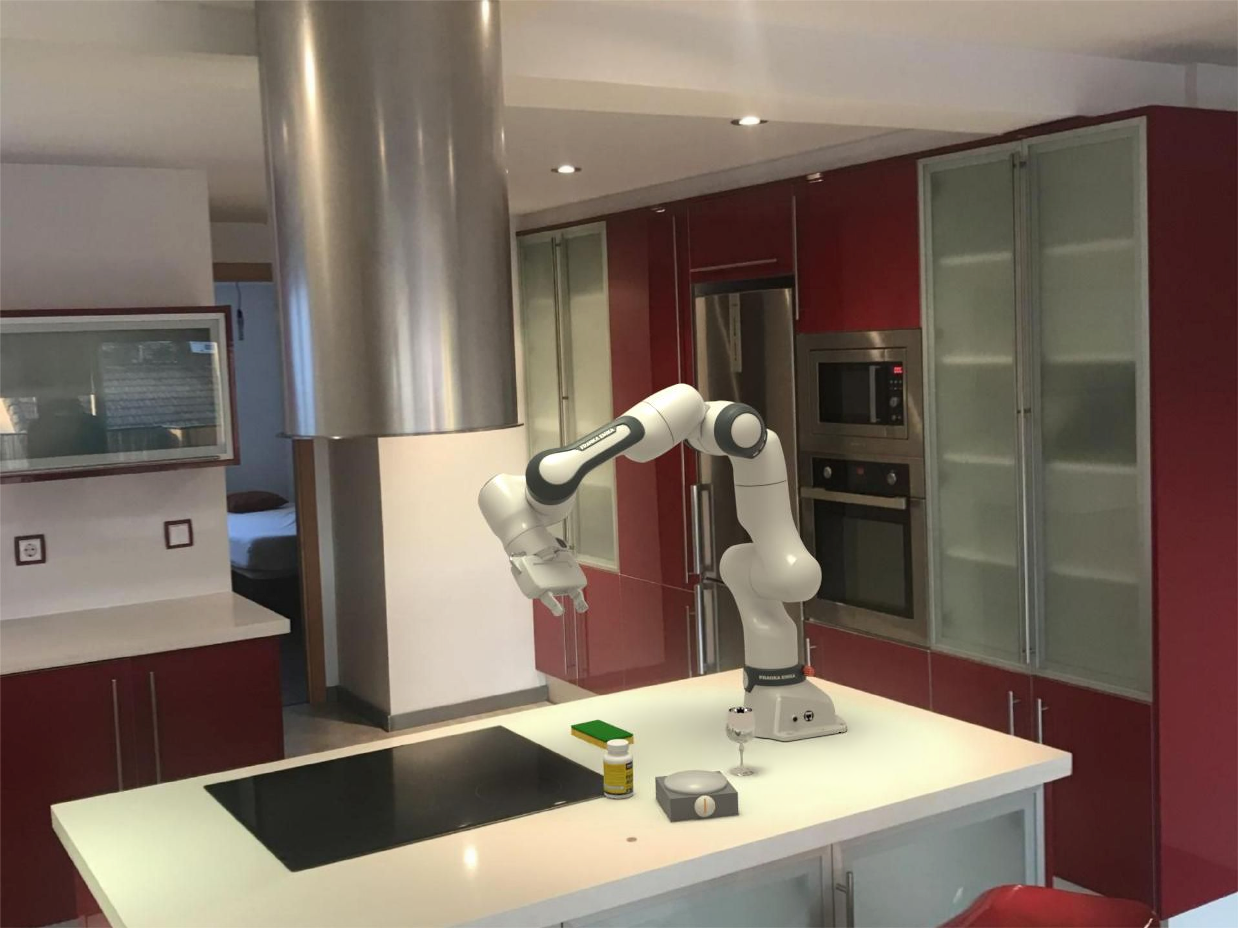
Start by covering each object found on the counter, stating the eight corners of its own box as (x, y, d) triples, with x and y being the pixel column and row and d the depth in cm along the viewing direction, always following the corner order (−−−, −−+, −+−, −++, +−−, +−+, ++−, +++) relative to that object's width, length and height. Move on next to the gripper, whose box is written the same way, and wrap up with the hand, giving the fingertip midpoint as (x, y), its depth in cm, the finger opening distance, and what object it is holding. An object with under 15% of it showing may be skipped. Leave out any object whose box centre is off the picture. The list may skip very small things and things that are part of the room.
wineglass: (758, 776, 244) (757, 713, 243) (728, 777, 244) (726, 714, 243) (755, 766, 250) (753, 705, 249) (725, 767, 250) (723, 706, 249)
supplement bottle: (630, 800, 233) (629, 746, 232) (601, 798, 234) (599, 746, 233) (636, 789, 238) (634, 737, 238) (607, 788, 239) (605, 737, 239)
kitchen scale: (720, 792, 236) (719, 766, 235) (739, 815, 223) (738, 788, 223) (655, 798, 233) (655, 772, 233) (671, 822, 221) (670, 795, 221)
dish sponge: (605, 751, 263) (605, 740, 263) (570, 736, 275) (570, 724, 275) (634, 745, 267) (634, 733, 267) (598, 729, 279) (598, 718, 279)
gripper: (518, 542, 233) (558, 605, 229) (569, 541, 251) (608, 599, 247) (493, 563, 235) (533, 626, 231) (546, 560, 253) (584, 618, 249)
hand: (572, 612), depth 239 cm, fingers open, 8 cm apart
